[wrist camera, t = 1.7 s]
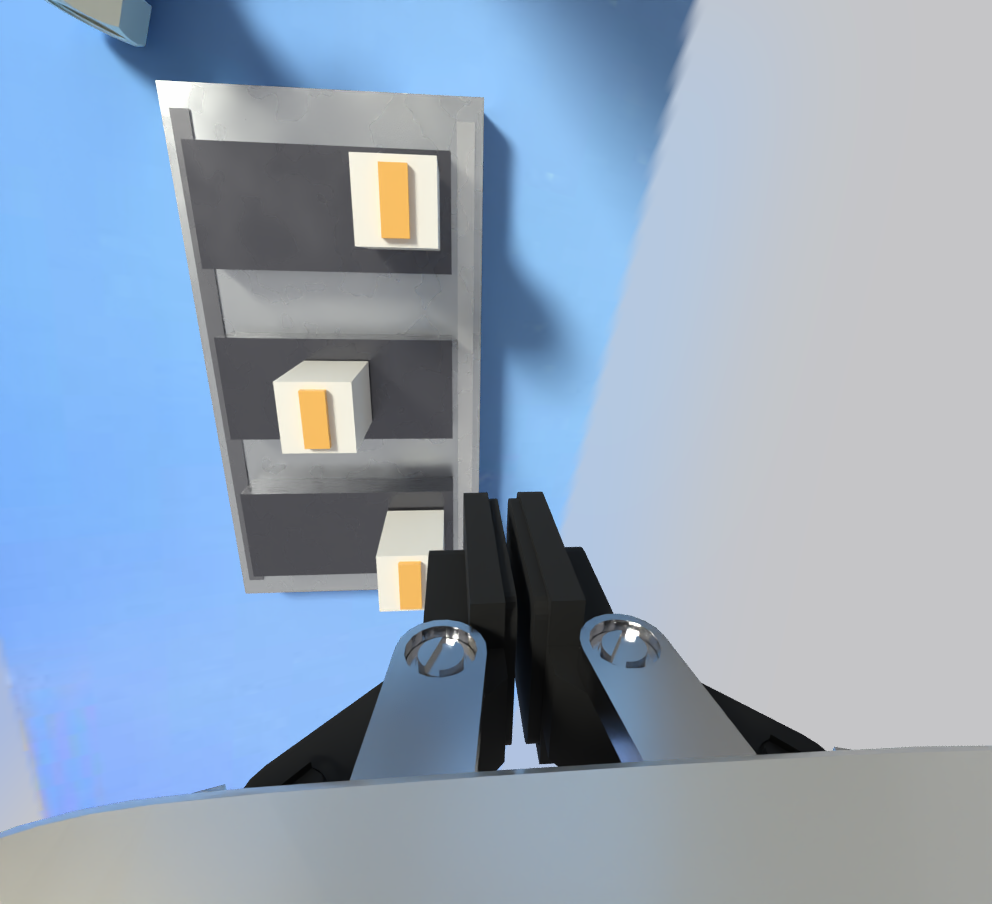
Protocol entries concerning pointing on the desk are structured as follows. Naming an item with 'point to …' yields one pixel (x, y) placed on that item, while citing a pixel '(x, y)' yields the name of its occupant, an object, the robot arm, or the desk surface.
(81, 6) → the valve
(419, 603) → the handle
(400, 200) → the handle
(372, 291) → the panel
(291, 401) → the handle mid
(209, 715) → the desk surface
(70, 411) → the desk surface
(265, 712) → the desk surface
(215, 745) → the desk surface
